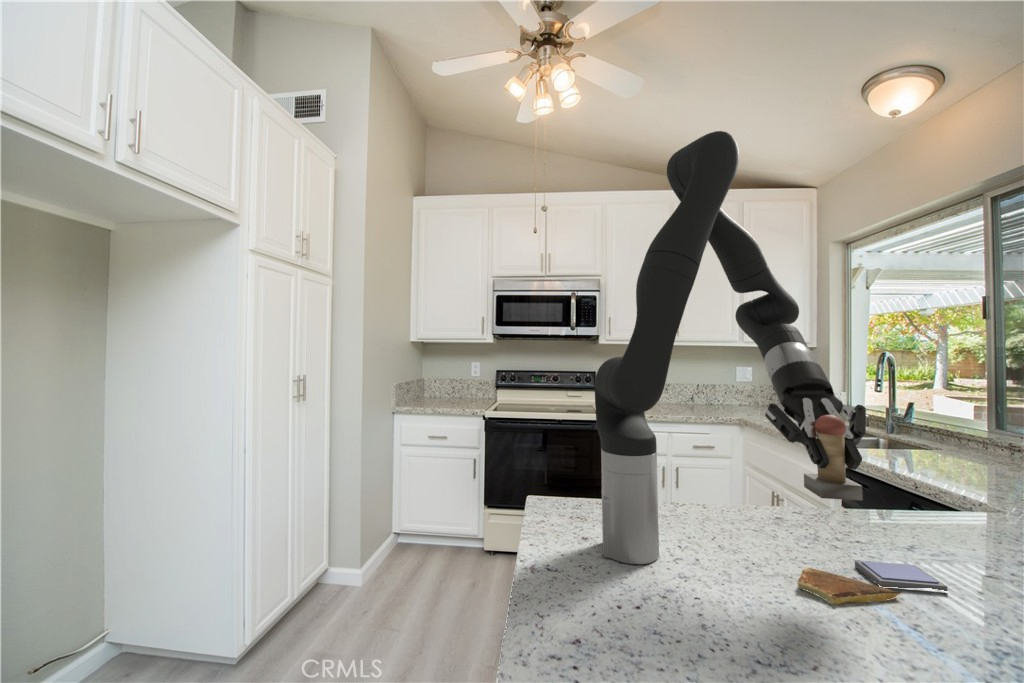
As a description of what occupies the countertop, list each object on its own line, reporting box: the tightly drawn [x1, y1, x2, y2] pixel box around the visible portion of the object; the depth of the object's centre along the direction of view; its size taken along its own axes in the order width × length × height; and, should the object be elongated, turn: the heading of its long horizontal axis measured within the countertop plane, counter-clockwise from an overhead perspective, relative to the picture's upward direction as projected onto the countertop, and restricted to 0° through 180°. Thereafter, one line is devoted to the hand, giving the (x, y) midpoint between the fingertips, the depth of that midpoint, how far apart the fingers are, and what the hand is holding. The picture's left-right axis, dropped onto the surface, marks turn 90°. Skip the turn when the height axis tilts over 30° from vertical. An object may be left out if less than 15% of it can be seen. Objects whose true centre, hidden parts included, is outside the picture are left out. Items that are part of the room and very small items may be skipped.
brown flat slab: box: [797, 567, 902, 606], centre depth 57 cm, size 11×8×2 cm
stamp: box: [803, 415, 864, 502], centre depth 60 cm, size 5×5×11 cm
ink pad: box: [854, 560, 949, 591], centre depth 61 cm, size 8×6×1 cm
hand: (839, 465), depth 58 cm, fingers closed on stamp, 3 cm apart
